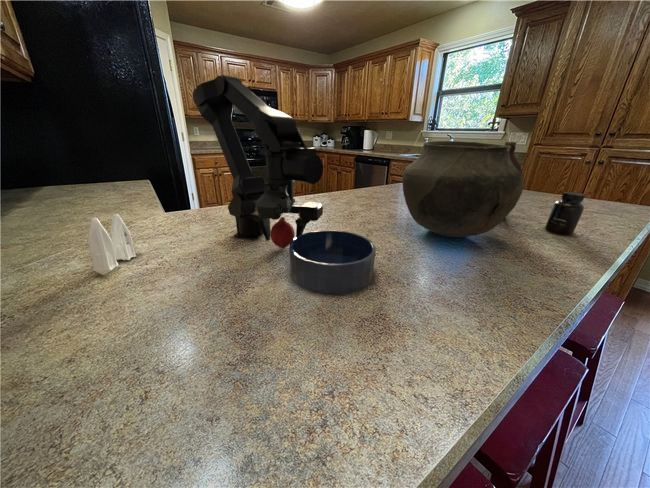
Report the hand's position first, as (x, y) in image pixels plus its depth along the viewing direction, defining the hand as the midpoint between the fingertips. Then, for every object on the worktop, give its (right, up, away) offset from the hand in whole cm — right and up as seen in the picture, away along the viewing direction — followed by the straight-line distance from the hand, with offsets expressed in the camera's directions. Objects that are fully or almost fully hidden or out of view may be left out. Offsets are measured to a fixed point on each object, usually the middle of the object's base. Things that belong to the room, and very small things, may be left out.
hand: (282, 242), depth 66 cm
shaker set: (-33, -5, -9) cm, 35 cm away
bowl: (+12, -6, -9) cm, 16 cm away
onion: (0, -2, +1) cm, 2 cm away
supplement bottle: (+82, +3, +17) cm, 84 cm away
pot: (+47, +3, +13) cm, 49 cm away
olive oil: (+69, +9, +30) cm, 76 cm away
